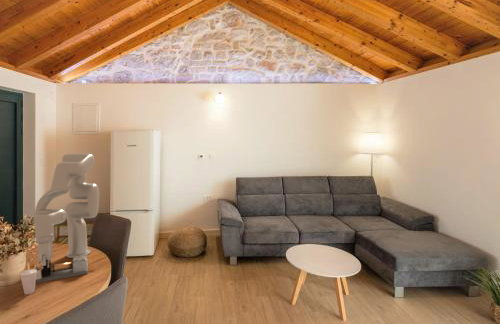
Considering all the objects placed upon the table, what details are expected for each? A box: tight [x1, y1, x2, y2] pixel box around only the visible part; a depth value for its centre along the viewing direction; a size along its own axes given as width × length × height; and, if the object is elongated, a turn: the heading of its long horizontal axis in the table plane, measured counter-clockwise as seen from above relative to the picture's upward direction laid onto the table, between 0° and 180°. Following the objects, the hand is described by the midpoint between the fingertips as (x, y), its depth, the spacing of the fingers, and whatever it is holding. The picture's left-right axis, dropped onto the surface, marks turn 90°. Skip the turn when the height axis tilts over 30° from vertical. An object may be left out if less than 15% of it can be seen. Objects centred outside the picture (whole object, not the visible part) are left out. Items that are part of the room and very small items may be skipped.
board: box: [35, 265, 89, 284], centre depth 154 cm, size 8×24×1 cm, turn 116°
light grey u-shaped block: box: [33, 264, 42, 280], centre depth 150 cm, size 6×3×5 cm, turn 26°
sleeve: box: [72, 255, 88, 273], centre depth 157 cm, size 6×6×6 cm
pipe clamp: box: [25, 263, 53, 270], centre depth 156 cm, size 12×4×6 cm, turn 168°
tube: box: [37, 261, 73, 274], centre depth 153 cm, size 4×16×4 cm, turn 116°
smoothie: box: [18, 262, 37, 295], centre depth 137 cm, size 6×6×14 cm
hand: (47, 273), depth 151 cm, fingers closed on tube, 3 cm apart
